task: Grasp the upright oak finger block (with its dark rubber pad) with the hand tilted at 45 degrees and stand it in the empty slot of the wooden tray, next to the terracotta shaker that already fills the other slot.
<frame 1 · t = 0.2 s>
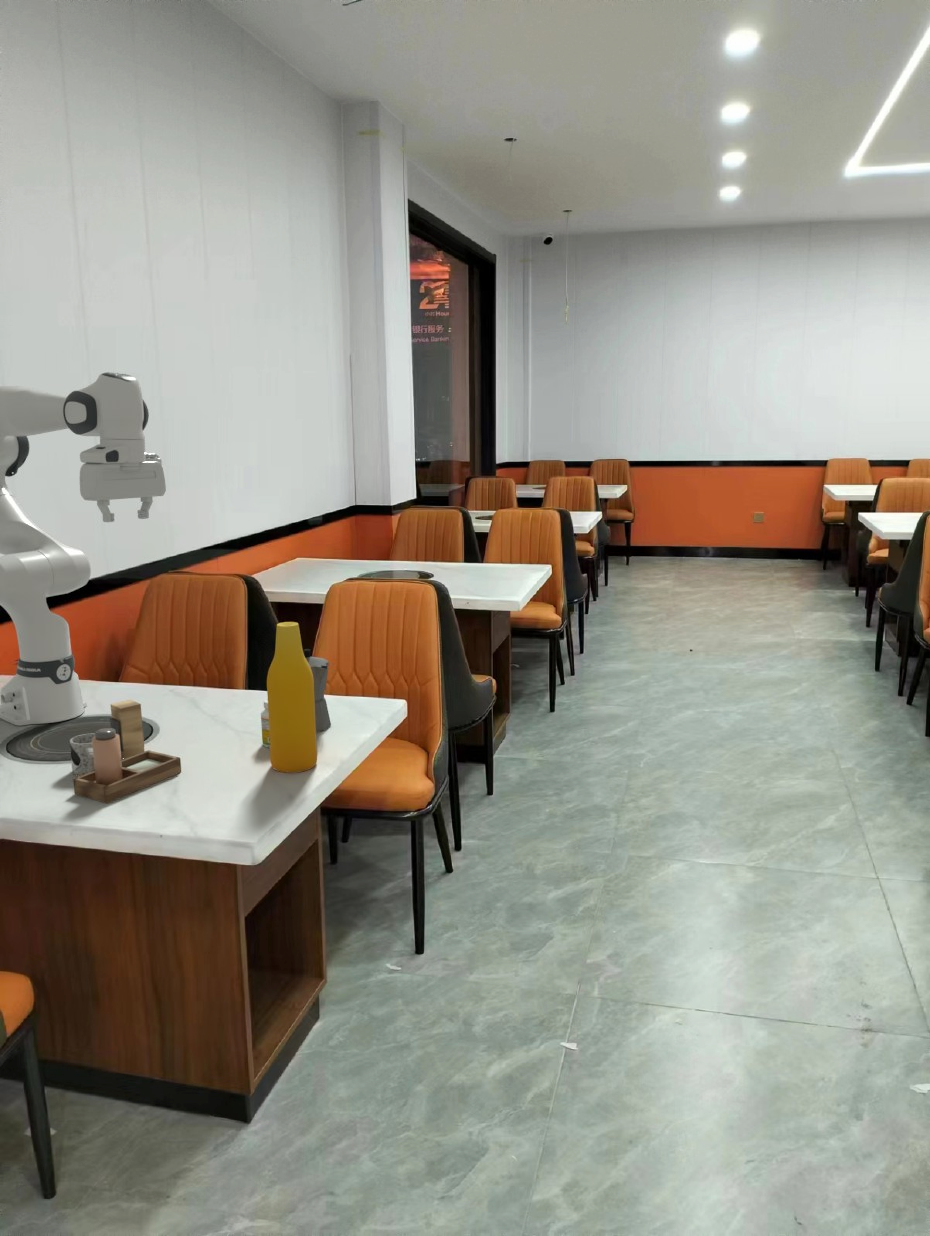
hand: (126, 520, 208), 47 cm above the table, tool pointing down, fingers open, 8 cm apart
beer bottle: (294, 766, 199), on the table
mug: (91, 774, 196), on the table
terracotta shaker: (109, 783, 187), resting on wooden tray
coffeepot: (307, 726, 224), on the table
supplement bottle: (275, 744, 212), on the table
wooden tray: (129, 782, 191), on the table
oak finger block: (129, 754, 206), on the table
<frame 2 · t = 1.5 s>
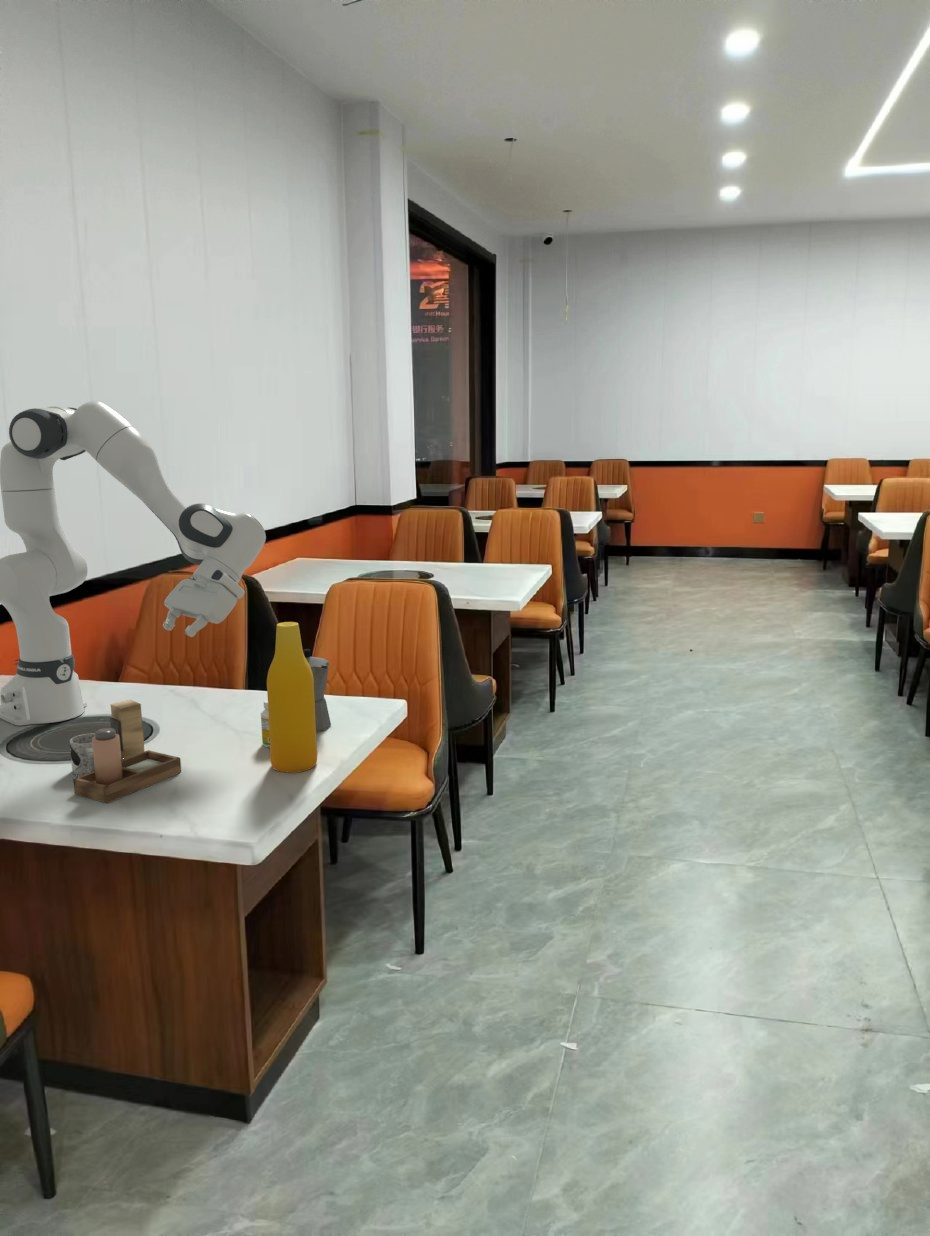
hand: (176, 631, 210), 24 cm above the table, tool tilted 45°, fingers open, 8 cm apart
nothing on the table moved.
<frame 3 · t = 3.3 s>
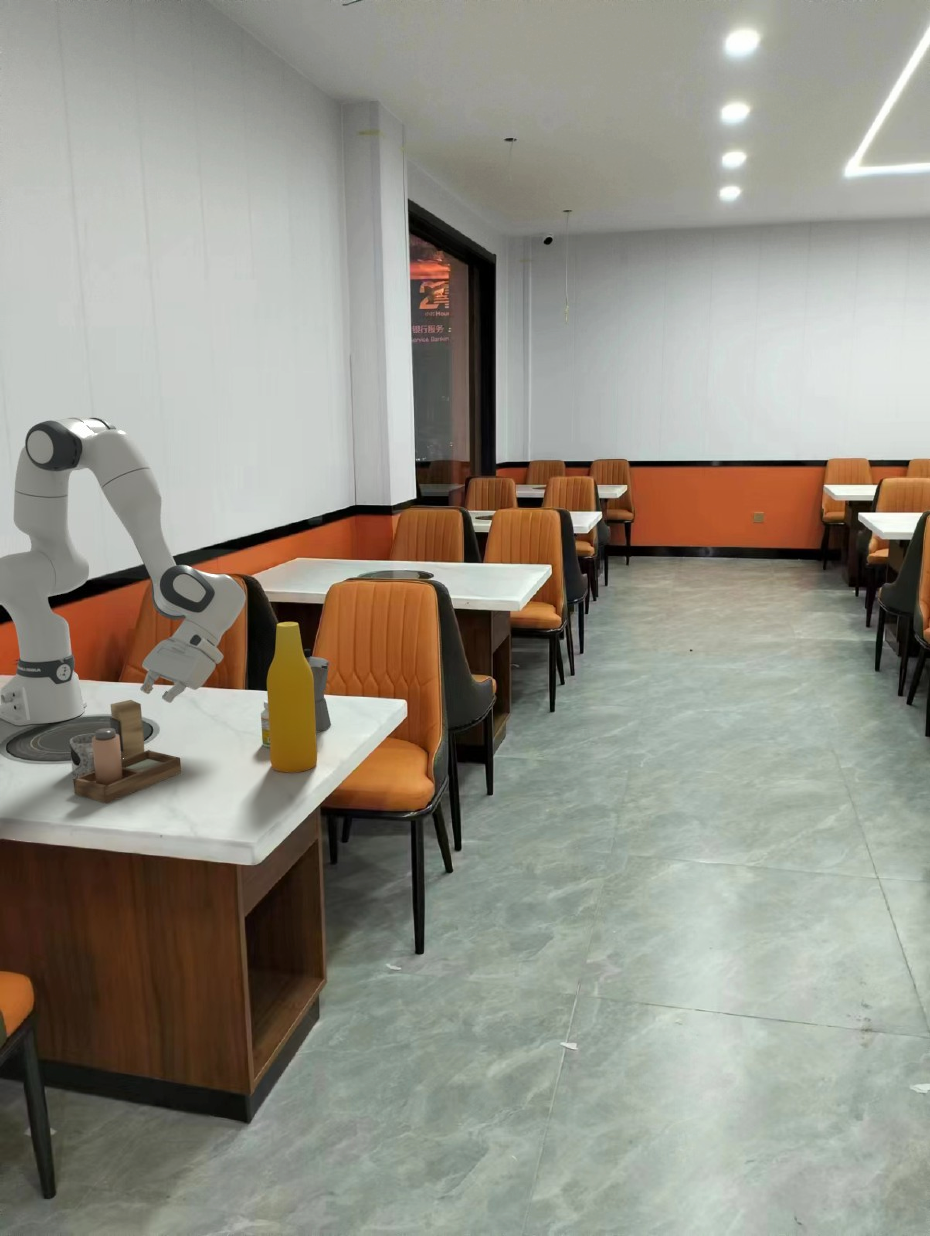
hand: (154, 696, 208), 11 cm above the table, tool tilted 45°, fingers open, 8 cm apart
nothing on the table moved.
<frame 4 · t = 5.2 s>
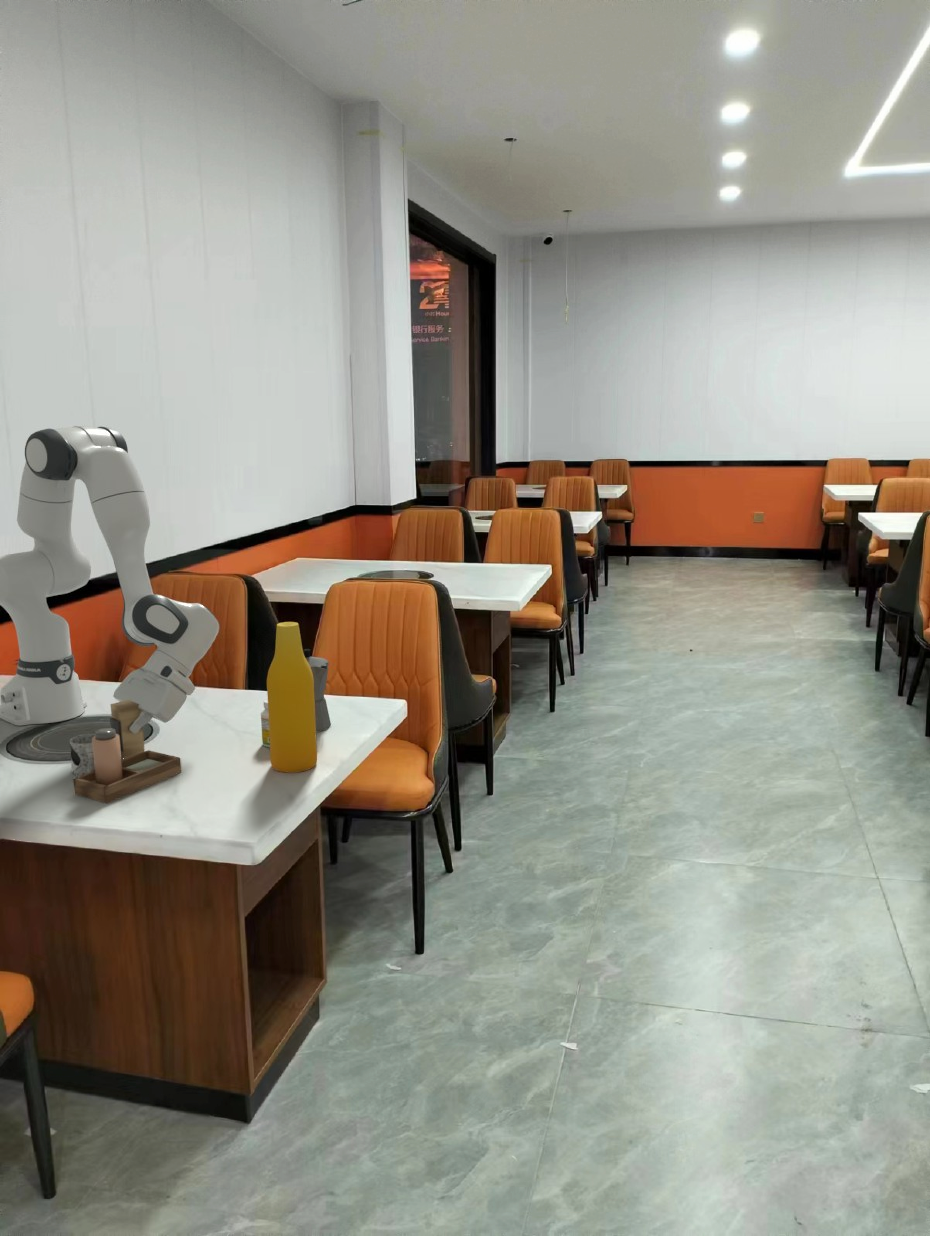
hand: (124, 728, 204), 6 cm above the table, tool tilted 45°, fingers closed on oak finger block, 4 cm apart
oak finger block: (129, 754, 206), on the table, touching gripper
everything else where it was.
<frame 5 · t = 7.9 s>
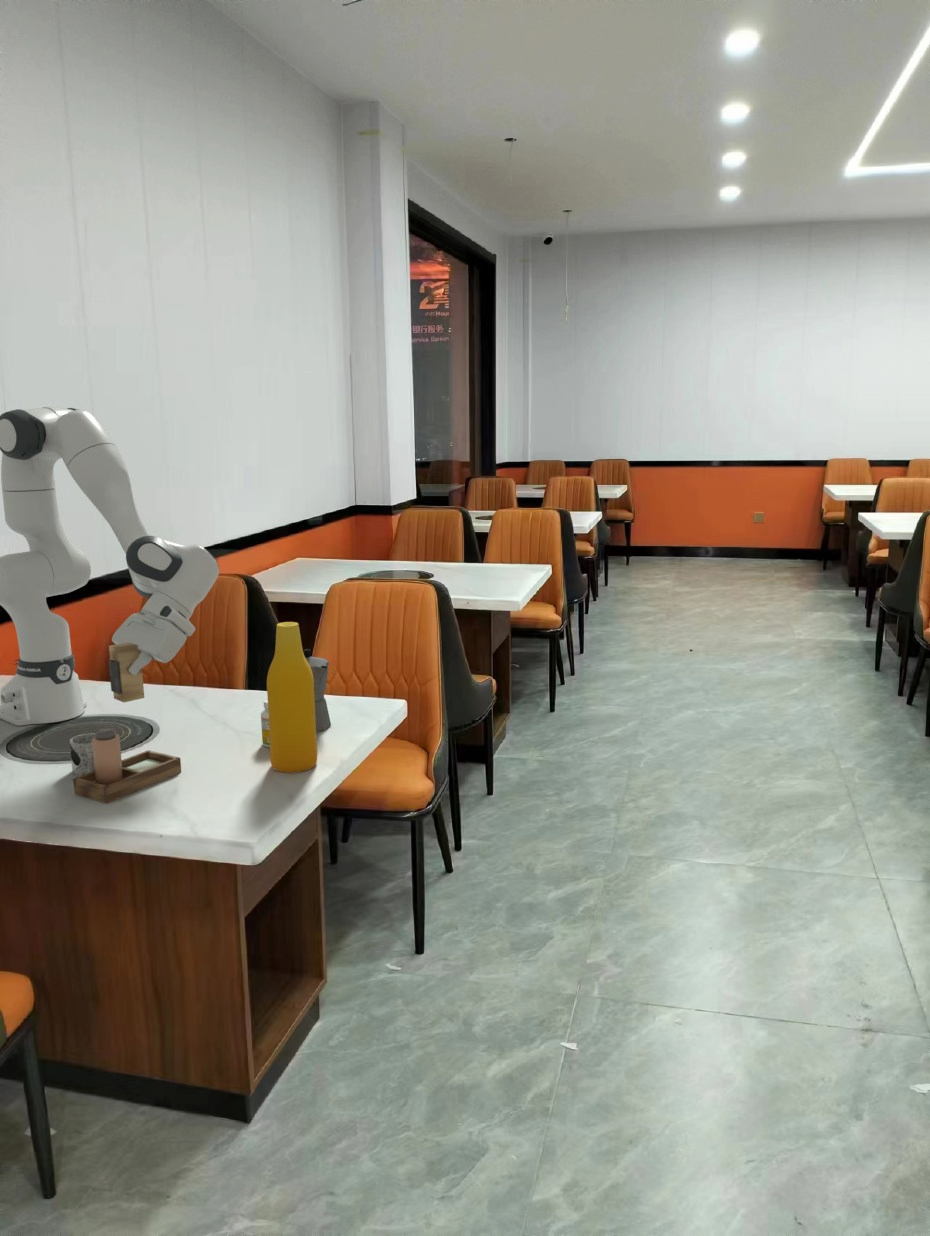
hand: (123, 670, 200), 19 cm above the table, tool tilted 45°, fingers closed on oak finger block, 4 cm apart
oak finger block: (129, 698, 201), point 13 cm above the table, touching gripper
everything else where it was.
when the fingers open (9 cm above the table, at t = 11.0 s): oak finger block drops 1 cm, resting on wooden tray.
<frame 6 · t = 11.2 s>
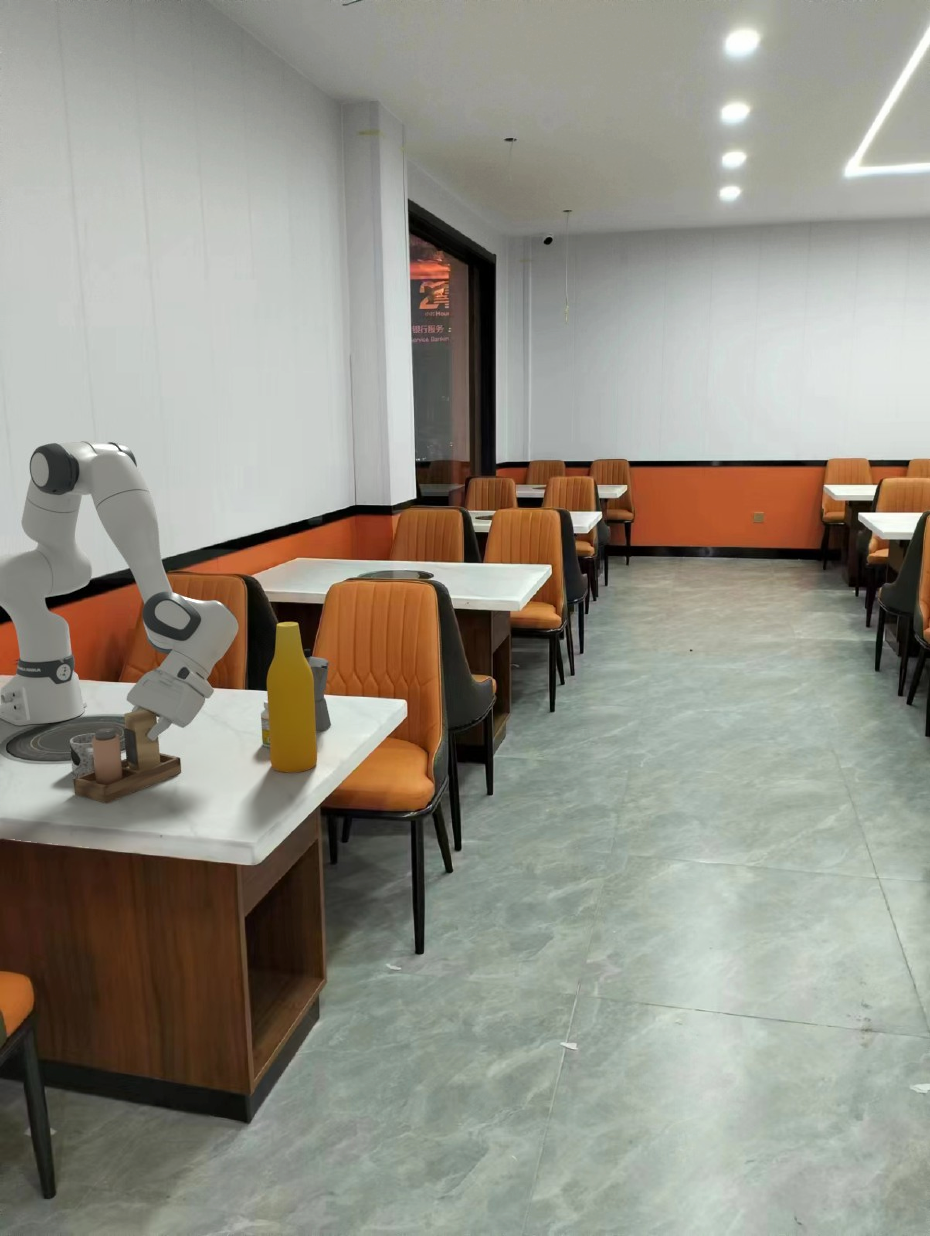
hand: (138, 733, 192), 9 cm above the table, tool tilted 45°, fingers open, 7 cm apart
oak finger block: (144, 767, 194), point 2 cm above the table, touching wooden tray
everything else where it was.
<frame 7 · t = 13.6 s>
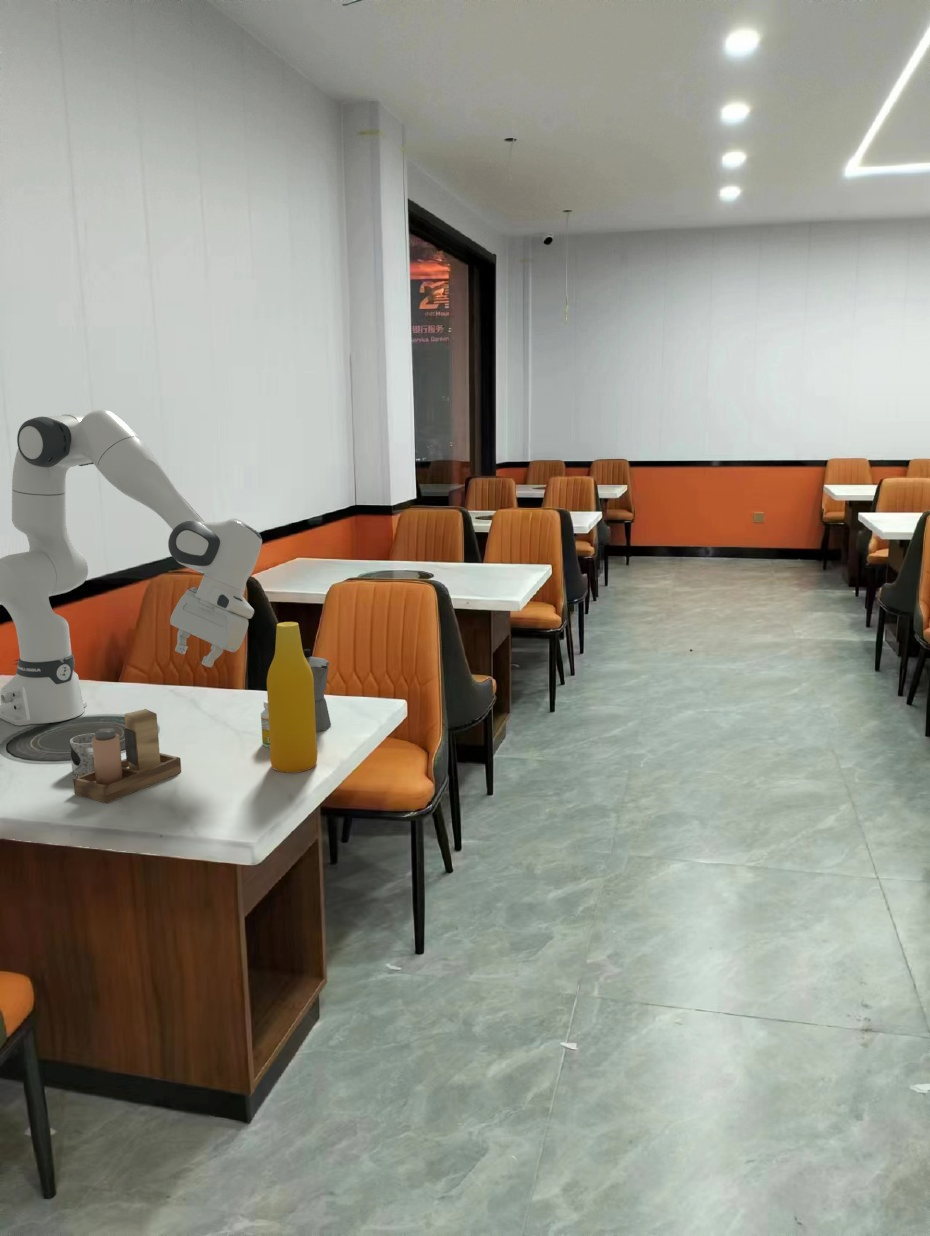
hand: (192, 659, 204), 20 cm above the table, tool tilted 25°, fingers open, 8 cm apart
nothing on the table moved.
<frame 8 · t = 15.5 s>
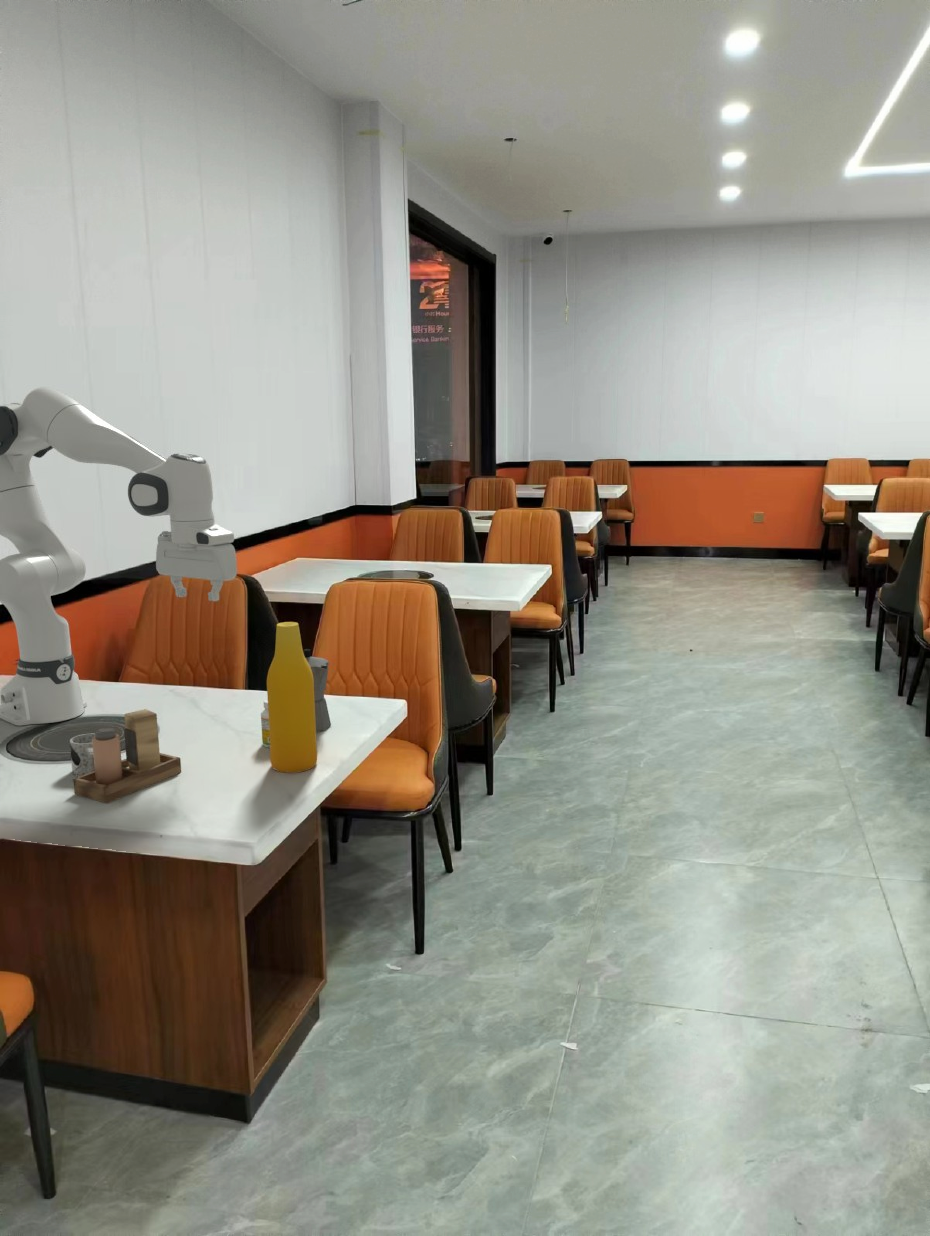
hand: (197, 598, 209), 31 cm above the table, tool pointing down, fingers open, 8 cm apart
nothing on the table moved.
at the end: oak finger block 0.3 cm from the target spot on the wooden tray, point 1.7 cm above the wooden tray's base; oak finger block tilted 0°; the gripper is holding nothing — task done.
